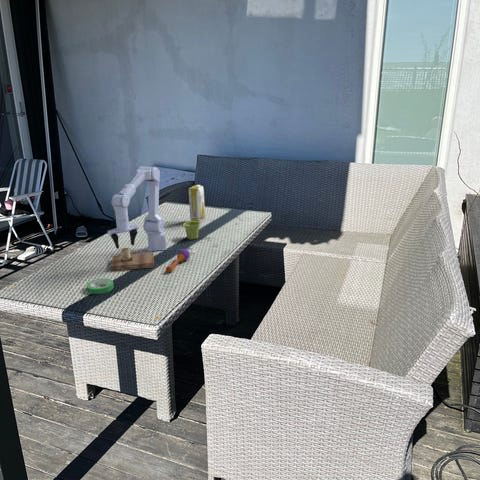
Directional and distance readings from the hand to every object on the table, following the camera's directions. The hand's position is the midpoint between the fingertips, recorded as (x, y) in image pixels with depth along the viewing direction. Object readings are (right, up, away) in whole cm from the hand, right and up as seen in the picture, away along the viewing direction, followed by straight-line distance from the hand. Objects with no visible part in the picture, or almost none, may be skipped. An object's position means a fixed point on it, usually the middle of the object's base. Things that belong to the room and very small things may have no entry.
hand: (125, 246), depth 221 cm
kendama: (+25, -9, +1) cm, 27 cm away
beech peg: (0, -9, +3) cm, 9 cm away
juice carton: (+29, +14, +70) cm, 77 cm away
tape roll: (-5, -18, -23) cm, 30 cm away
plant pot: (+29, +4, +40) cm, 49 cm away
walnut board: (+3, -9, +4) cm, 10 cm away
